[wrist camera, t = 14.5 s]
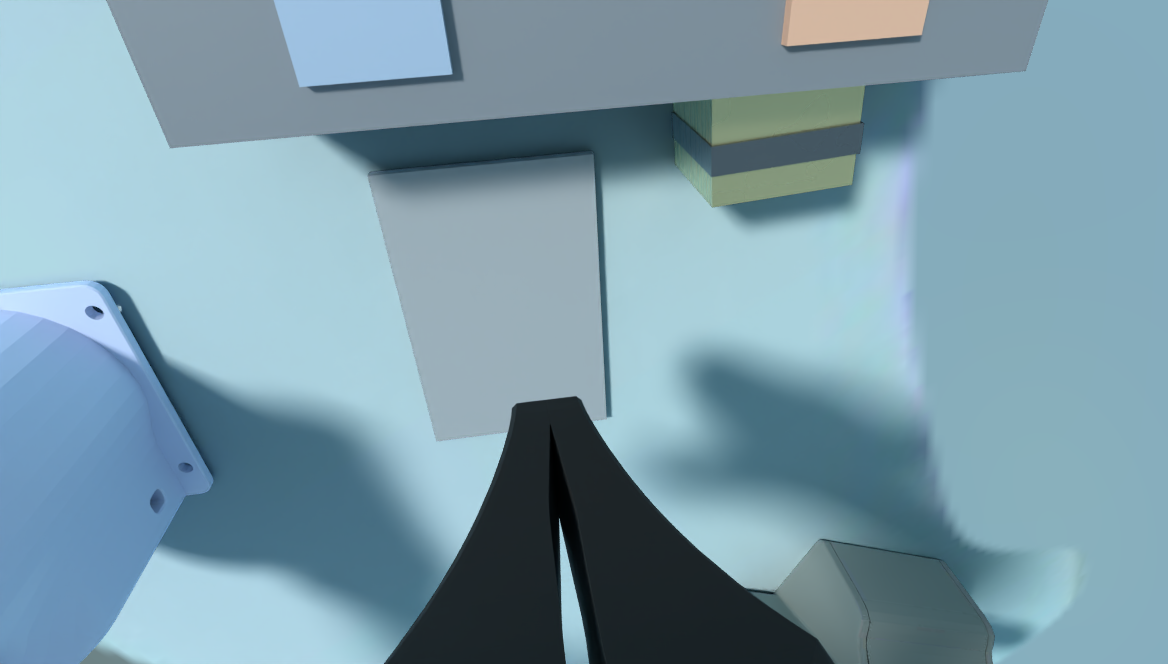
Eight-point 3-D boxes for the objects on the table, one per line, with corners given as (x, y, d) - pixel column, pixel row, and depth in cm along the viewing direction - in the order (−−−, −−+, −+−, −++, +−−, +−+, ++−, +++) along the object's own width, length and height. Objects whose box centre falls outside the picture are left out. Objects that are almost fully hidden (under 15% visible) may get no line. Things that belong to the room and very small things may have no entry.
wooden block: (793, 145, 20) (855, 185, 17) (673, 164, 20) (711, 209, 16) (819, -211, 15) (916, -260, 12) (660, -190, 15) (711, -233, 11)
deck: (605, 413, 25) (606, 419, 25) (437, 434, 25) (436, 441, 24) (591, 150, 19) (593, 154, 19) (369, 171, 19) (367, 175, 18)
